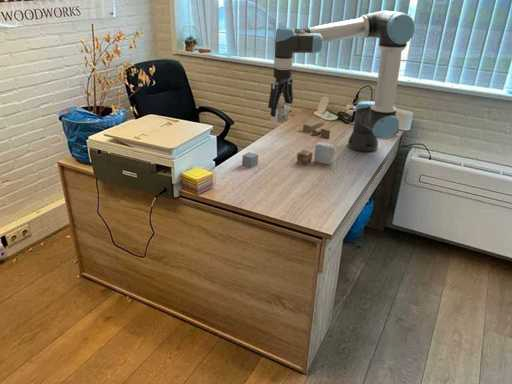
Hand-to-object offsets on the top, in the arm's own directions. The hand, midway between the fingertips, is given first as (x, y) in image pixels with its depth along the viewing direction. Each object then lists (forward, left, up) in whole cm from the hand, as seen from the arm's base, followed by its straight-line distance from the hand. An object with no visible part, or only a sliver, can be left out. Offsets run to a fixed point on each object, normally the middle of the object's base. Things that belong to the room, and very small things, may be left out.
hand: (280, 120), depth 188 cm
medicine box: (-16, -15, -21) cm, 30 cm away
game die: (0, 0, -1) cm, 1 cm away
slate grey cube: (+9, +9, -21) cm, 24 cm away
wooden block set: (+3, -55, -21) cm, 59 cm away
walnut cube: (-9, -9, -21) cm, 24 cm away
